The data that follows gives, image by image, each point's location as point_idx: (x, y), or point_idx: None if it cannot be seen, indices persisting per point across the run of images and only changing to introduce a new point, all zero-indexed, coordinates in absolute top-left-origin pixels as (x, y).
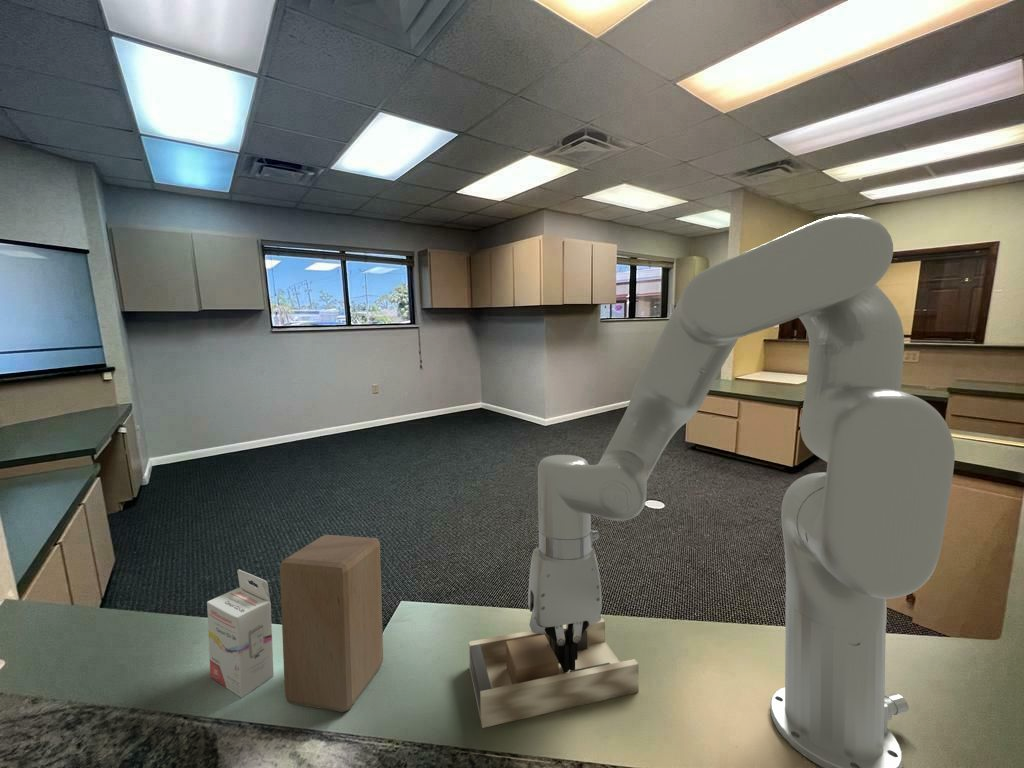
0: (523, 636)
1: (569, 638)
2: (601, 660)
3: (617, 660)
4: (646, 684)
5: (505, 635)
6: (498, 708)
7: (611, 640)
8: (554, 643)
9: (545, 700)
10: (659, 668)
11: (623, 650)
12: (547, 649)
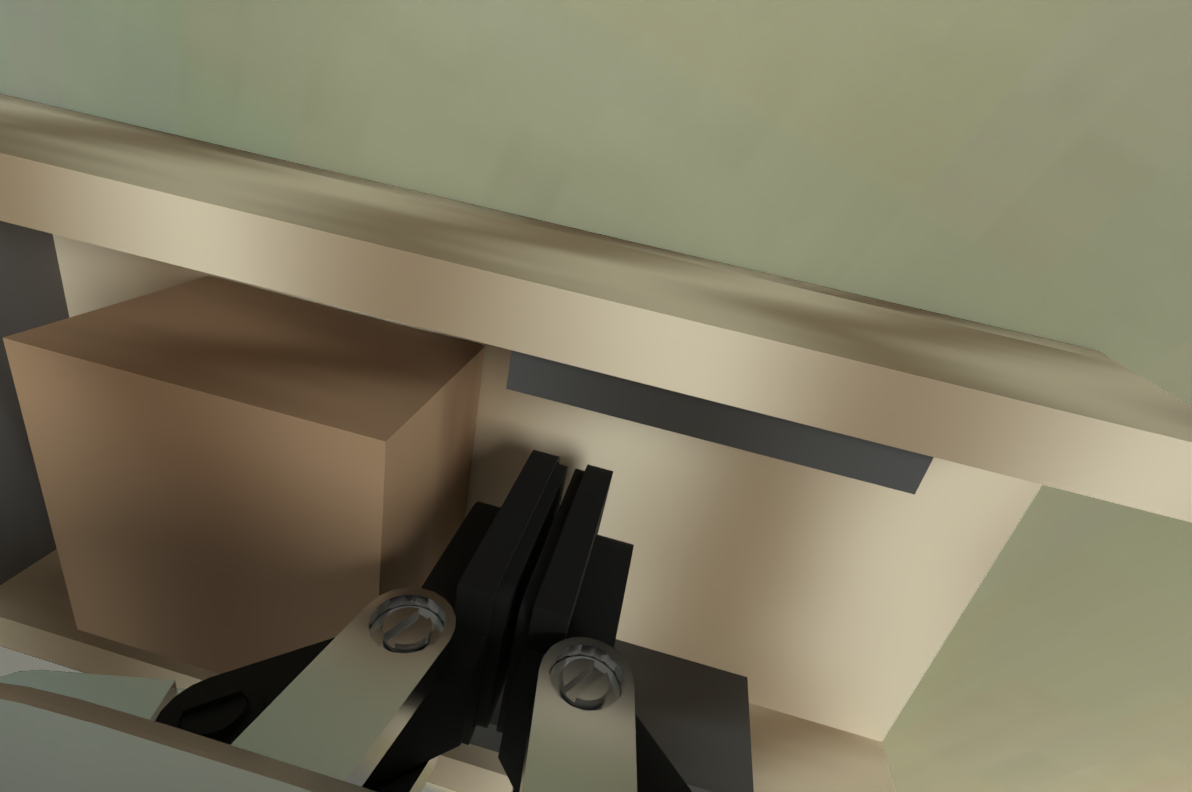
0: (224, 275)
1: (499, 750)
2: (859, 543)
3: (962, 595)
4: (949, 740)
5: (42, 172)
6: None
7: (1187, 376)
8: (432, 570)
9: None
10: (1155, 724)
11: (1137, 510)
12: (341, 599)
